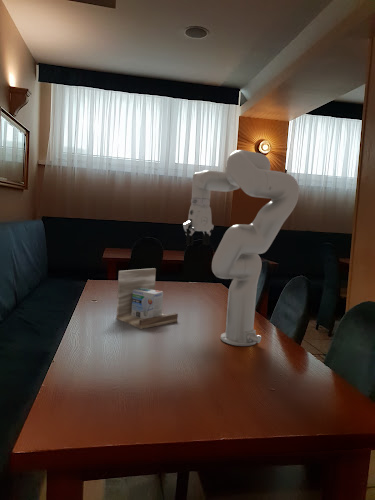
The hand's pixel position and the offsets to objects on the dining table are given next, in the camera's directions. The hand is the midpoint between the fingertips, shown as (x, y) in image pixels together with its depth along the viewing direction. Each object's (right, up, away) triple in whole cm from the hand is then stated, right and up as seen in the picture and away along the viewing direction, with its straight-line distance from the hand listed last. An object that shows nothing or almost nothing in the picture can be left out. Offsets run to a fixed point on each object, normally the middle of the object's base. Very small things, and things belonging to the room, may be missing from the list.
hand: (197, 245), depth 158 cm
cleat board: (-20, -30, -6) cm, 36 cm away
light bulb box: (-20, -29, -5) cm, 36 cm away
